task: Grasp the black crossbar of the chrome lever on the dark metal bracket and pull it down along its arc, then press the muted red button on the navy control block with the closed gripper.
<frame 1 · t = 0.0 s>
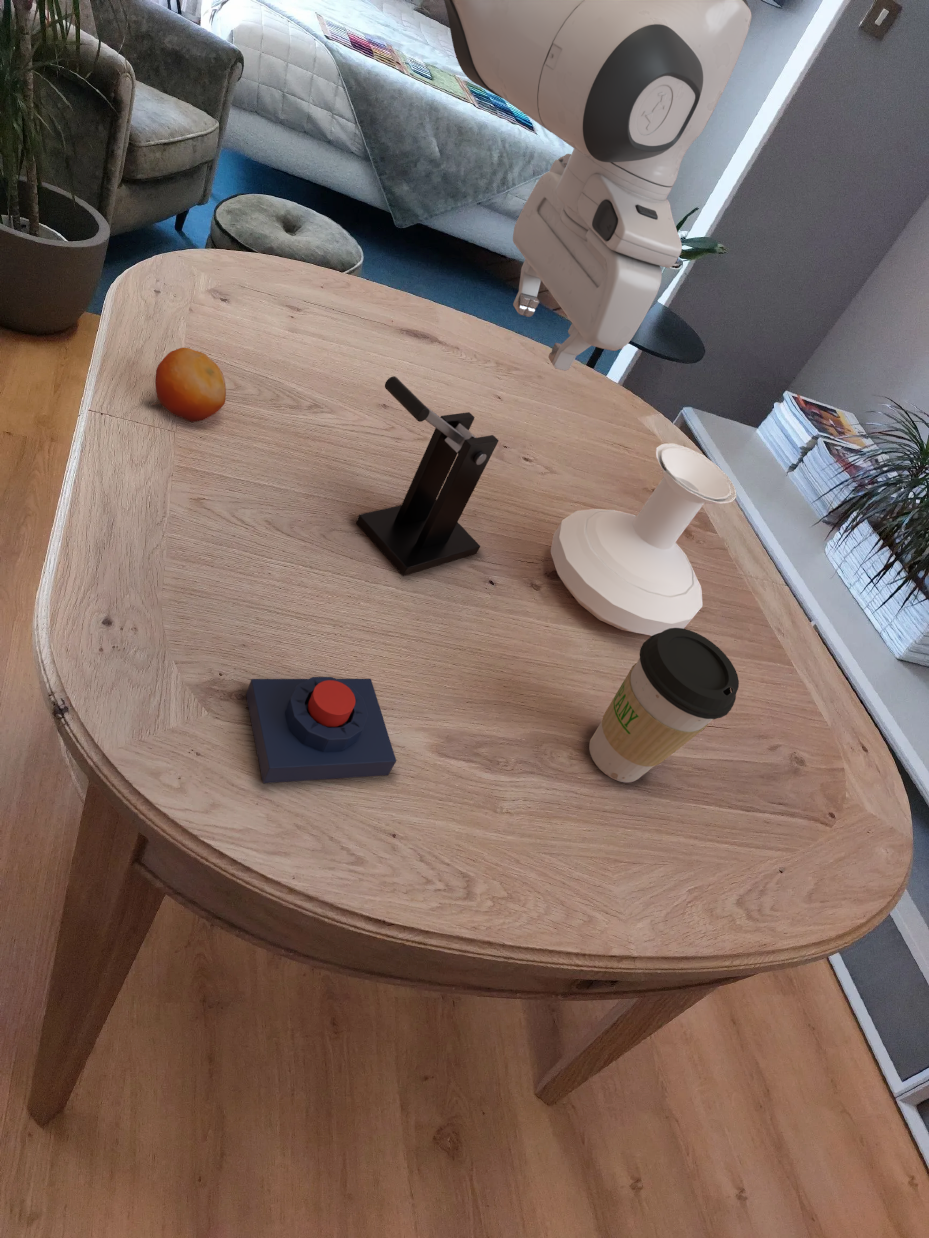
hand: (538, 338, 80), 28 cm above the table, tool pointing down, fingers open, 8 cm apart
fruit: (186, 412, 97), on the table
lever: (438, 423, 83), point 17 cm above the table, hinge at 30.0°
coffee cup: (615, 757, 86), on the table
bracket: (417, 538, 98), on the table
button: (331, 703, 70), point 4 cm above the table, slide at 0.1 cm
candle holder: (610, 593, 106), on the table
control block: (317, 734, 73), on the table
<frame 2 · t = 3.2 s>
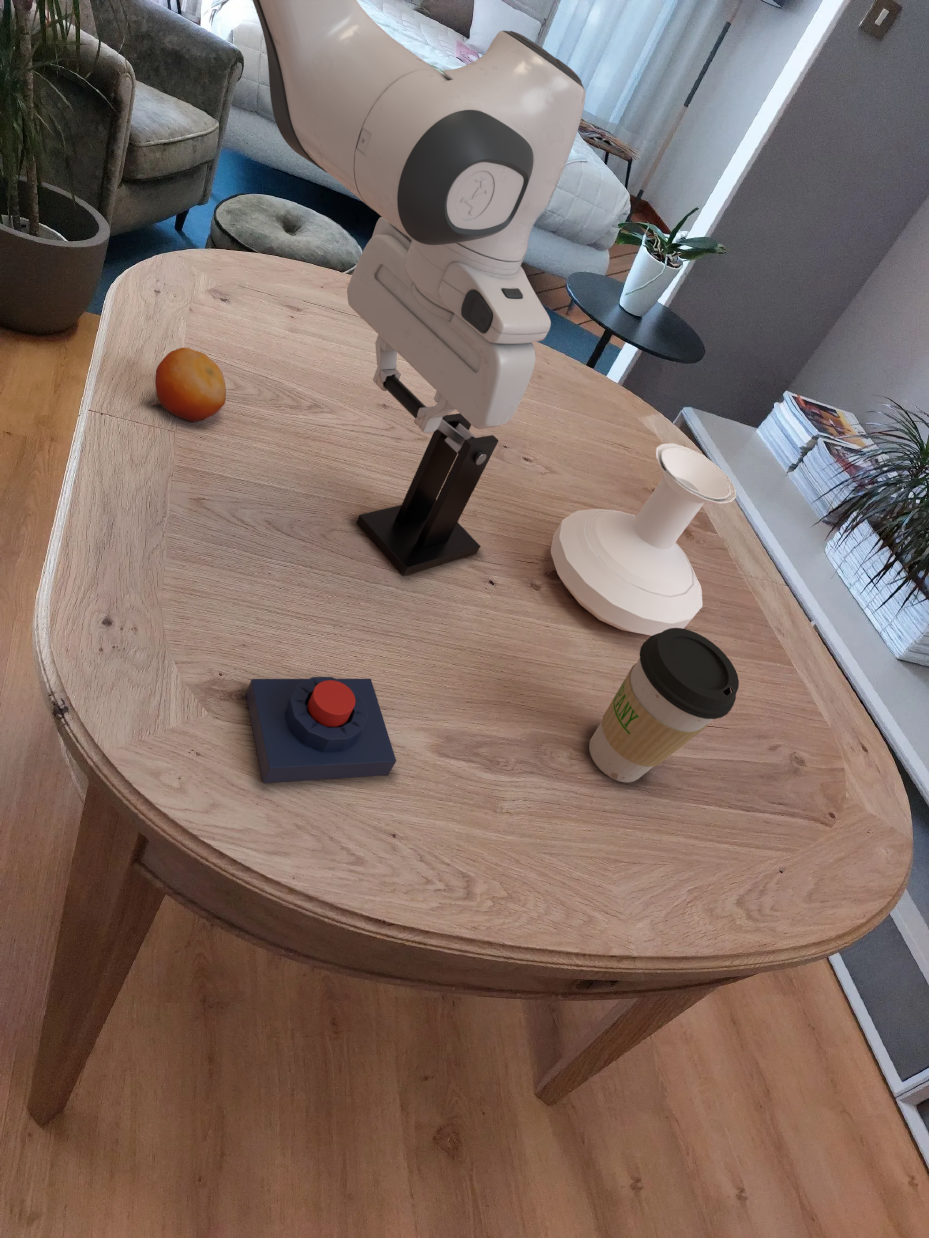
hand: (403, 407, 77), 20 cm above the table, tool pointing down, fingers closed on lever, 5 cm apart
lever: (438, 423, 83), point 17 cm above the table, hinge at 30.0°, touching gripper
everything else where it was.
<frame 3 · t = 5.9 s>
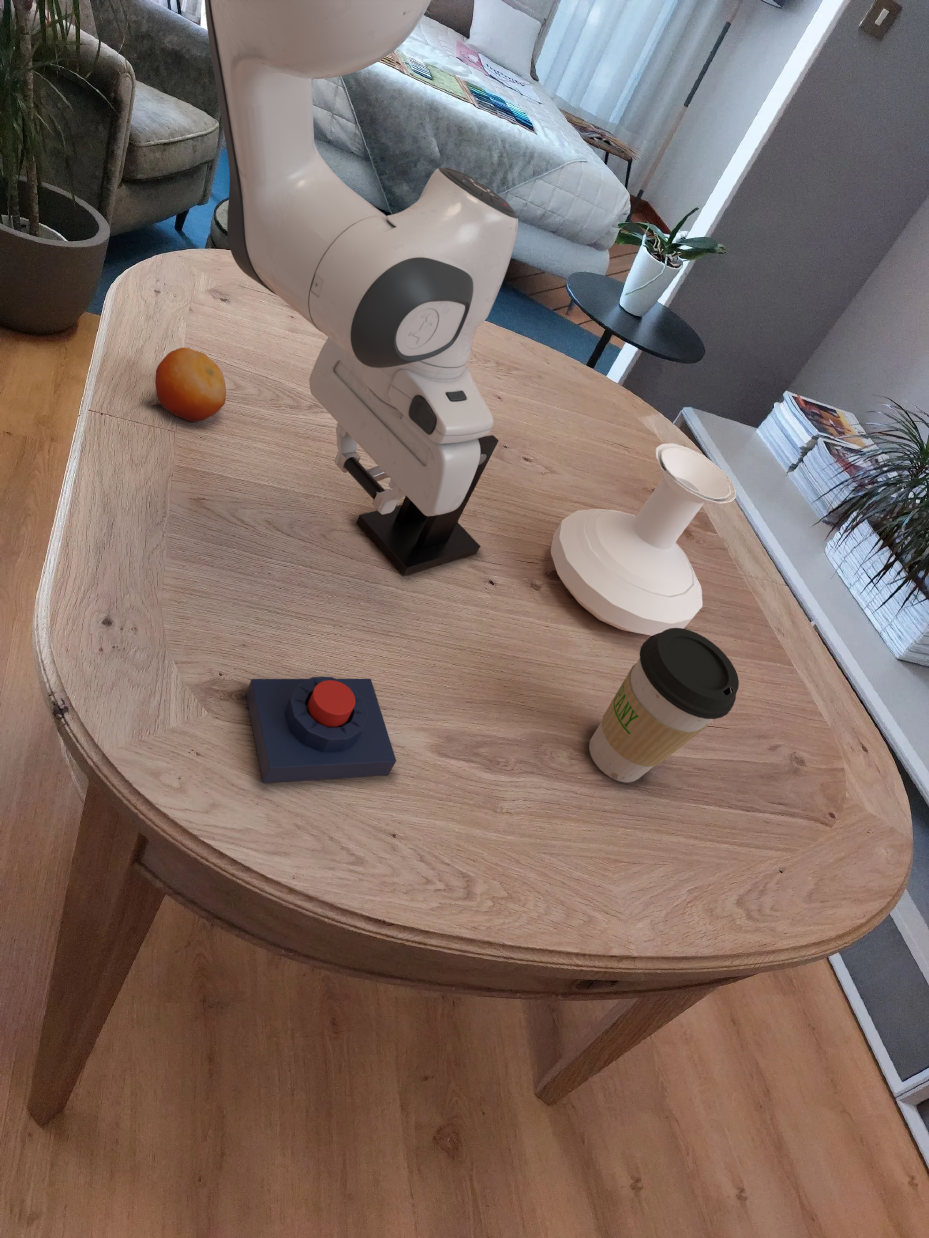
hand: (363, 488, 83), 10 cm above the table, tool pointing down, fingers closed on lever, 5 cm apart
lever: (418, 458, 85), point 13 cm above the table, hinge at -11.7°, touching gripper
everything else where it was.
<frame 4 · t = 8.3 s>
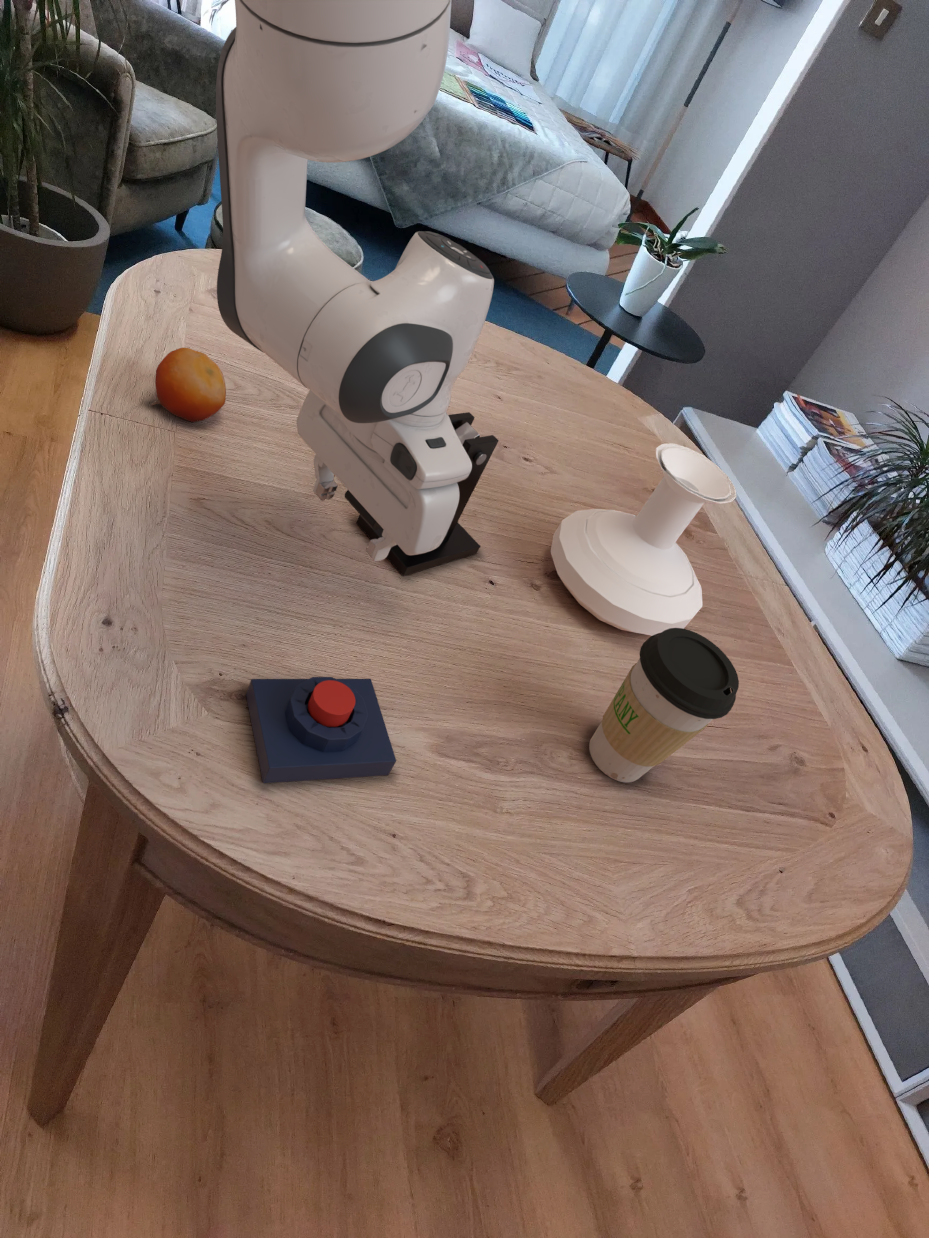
hand: (348, 525, 86), 5 cm above the table, tool pointing down, fingers open, 8 cm apart
lever: (417, 473, 87), point 11 cm above the table, hinge at -31.9°
everything else where it was.
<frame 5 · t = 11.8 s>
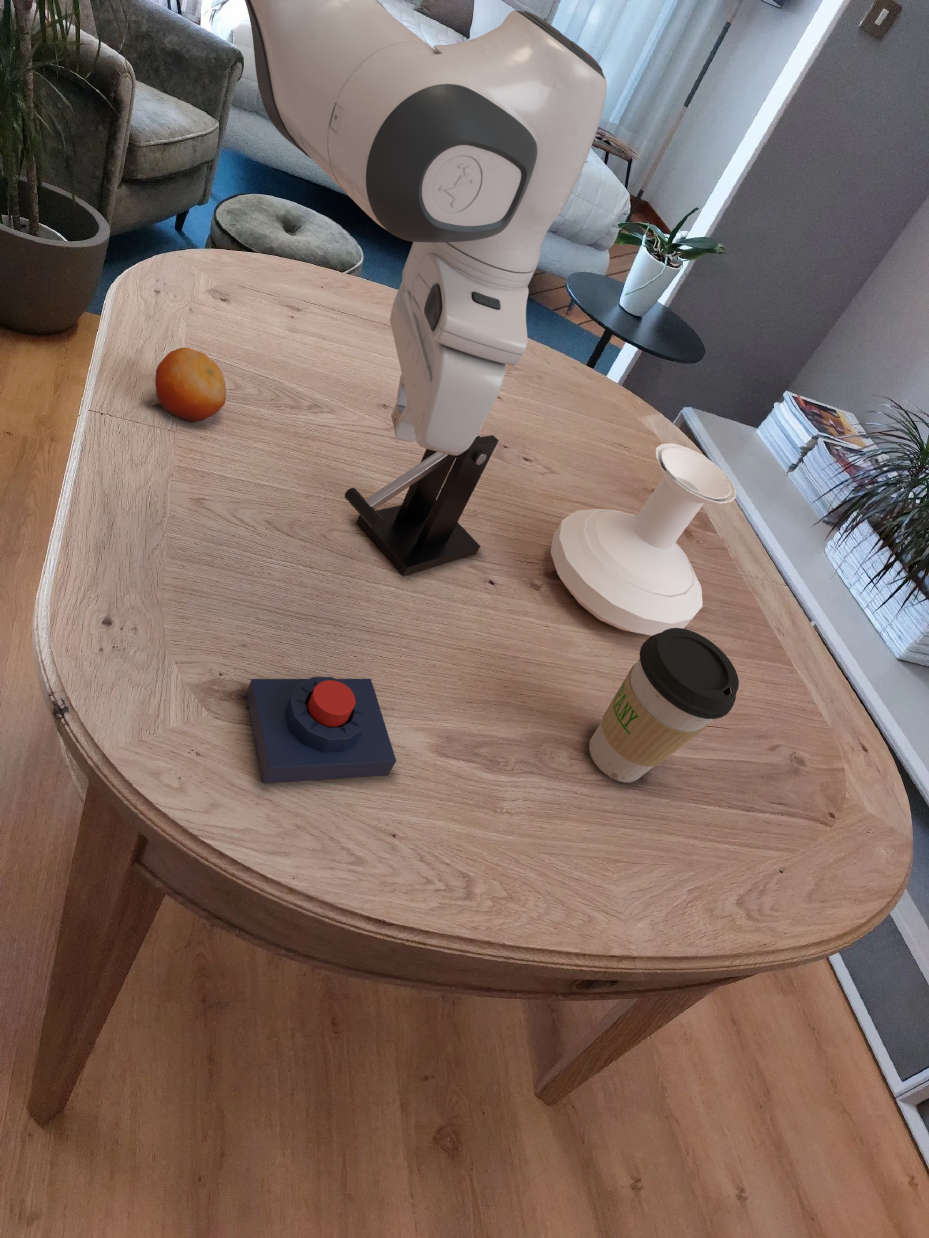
hand: (401, 430, 70), 22 cm above the table, tool pointing down, fingers closed
nothing on the table moved.
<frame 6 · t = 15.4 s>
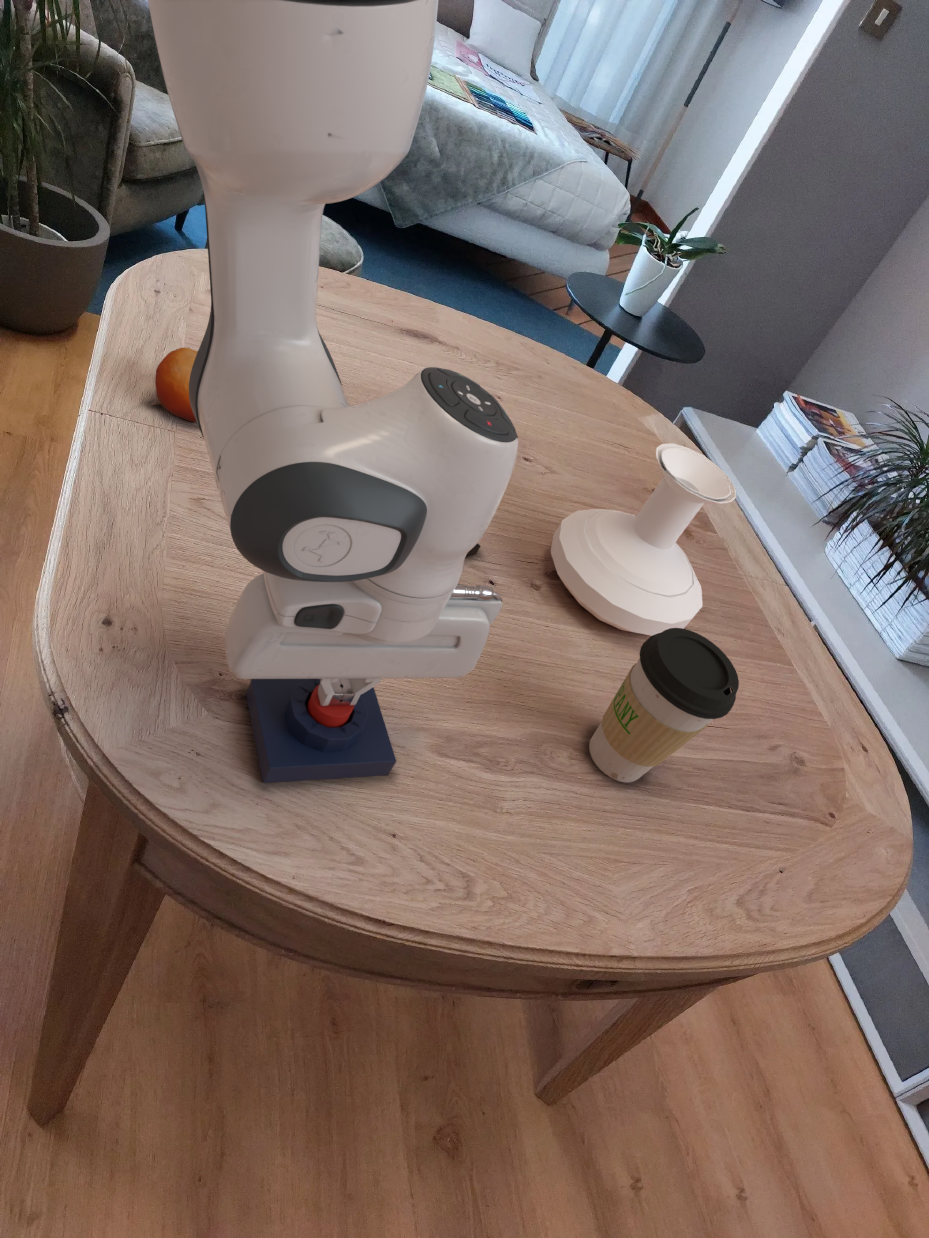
hand: (335, 699, 69), 5 cm above the table, tool pointing down, fingers closed, pressing on button
button: (330, 705, 70), point 4 cm above the table, slide at -0.2 cm, touching gripper
everything else where it was.
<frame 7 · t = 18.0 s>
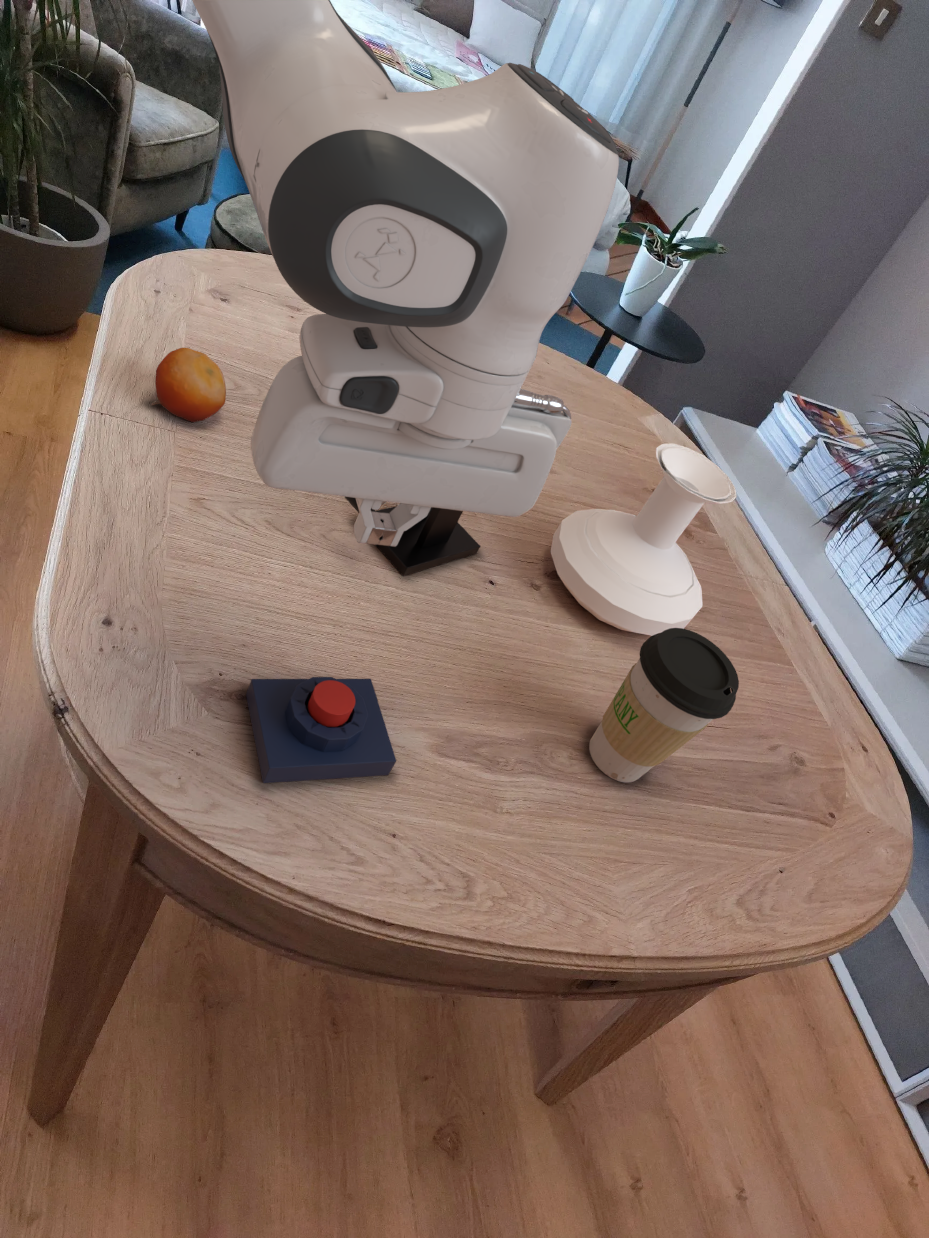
hand: (373, 539, 60), 21 cm above the table, tool pointing down, fingers closed
button: (331, 703, 70), point 4 cm above the table, slide at 0.1 cm
everything else where it was.
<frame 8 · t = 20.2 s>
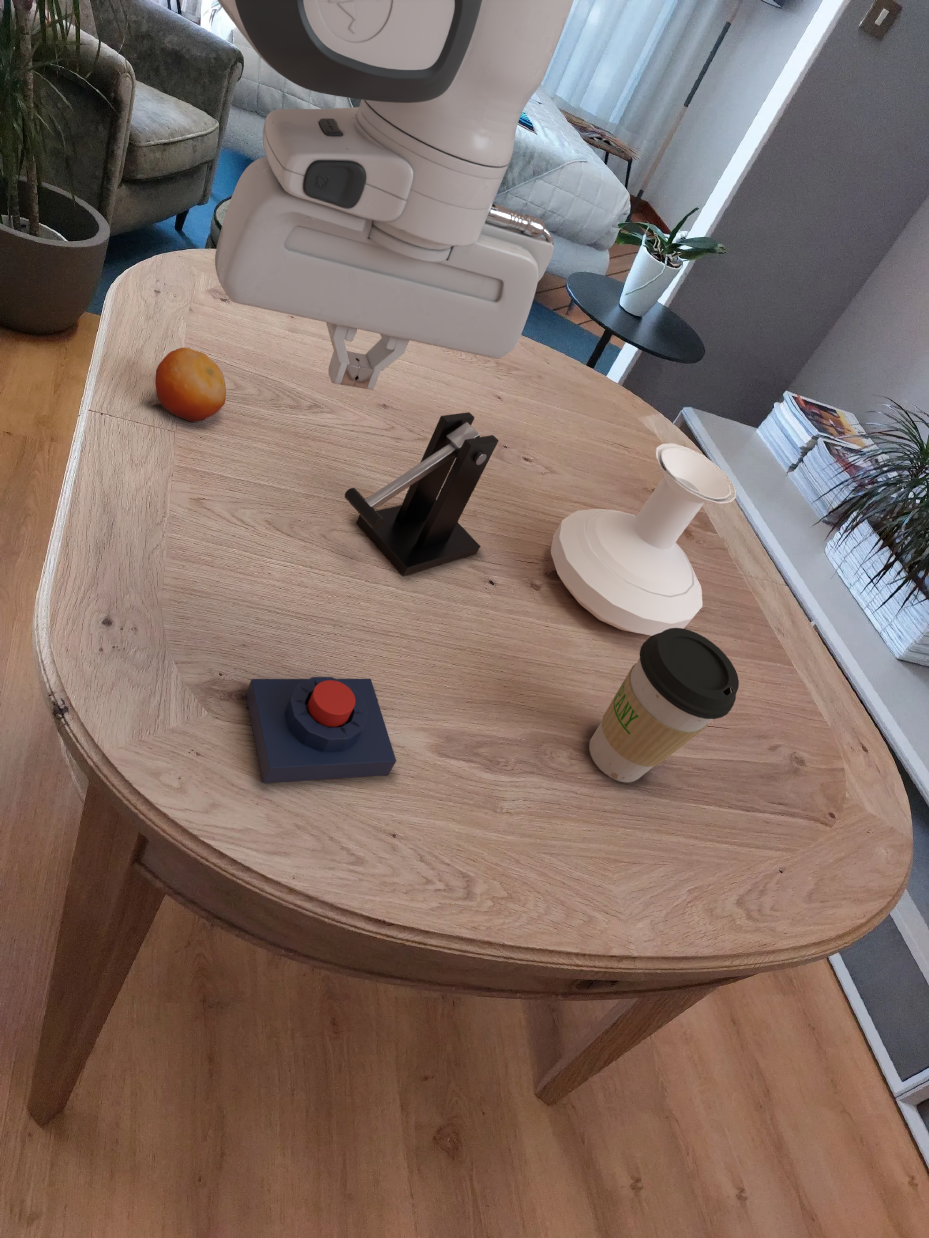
hand: (349, 382, 58), 29 cm above the table, tool pointing down, fingers closed
nothing on the table moved.
at the end: lever at -32° (first picture: +30°); button pushed in 1.1 cm at the most during the clip, back to where it started at the end; button slide at 0.1 cm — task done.
